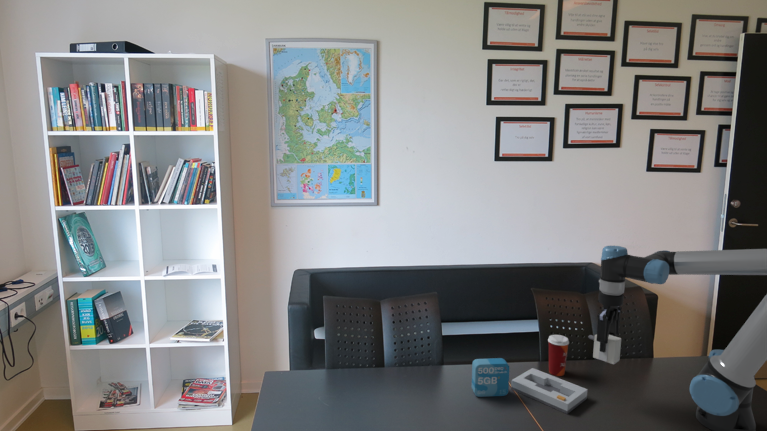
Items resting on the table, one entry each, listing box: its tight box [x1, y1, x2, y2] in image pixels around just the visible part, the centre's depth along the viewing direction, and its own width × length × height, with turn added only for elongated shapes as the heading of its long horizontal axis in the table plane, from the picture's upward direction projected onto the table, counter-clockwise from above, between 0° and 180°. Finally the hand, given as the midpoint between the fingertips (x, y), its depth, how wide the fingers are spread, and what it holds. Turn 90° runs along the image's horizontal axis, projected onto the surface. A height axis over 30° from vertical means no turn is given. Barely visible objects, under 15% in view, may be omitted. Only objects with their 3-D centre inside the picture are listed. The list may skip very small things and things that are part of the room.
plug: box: [587, 333, 622, 365], centre depth 161 cm, size 10×4×8 cm, turn 41°
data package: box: [471, 357, 510, 398], centre depth 164 cm, size 12×4×12 cm, turn 94°
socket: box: [510, 367, 588, 415], centre depth 164 cm, size 21×14×4 cm, turn 42°
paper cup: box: [547, 334, 570, 377], centre depth 179 cm, size 8×8×14 cm
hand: (606, 357), depth 160 cm, fingers closed on plug, 4 cm apart
